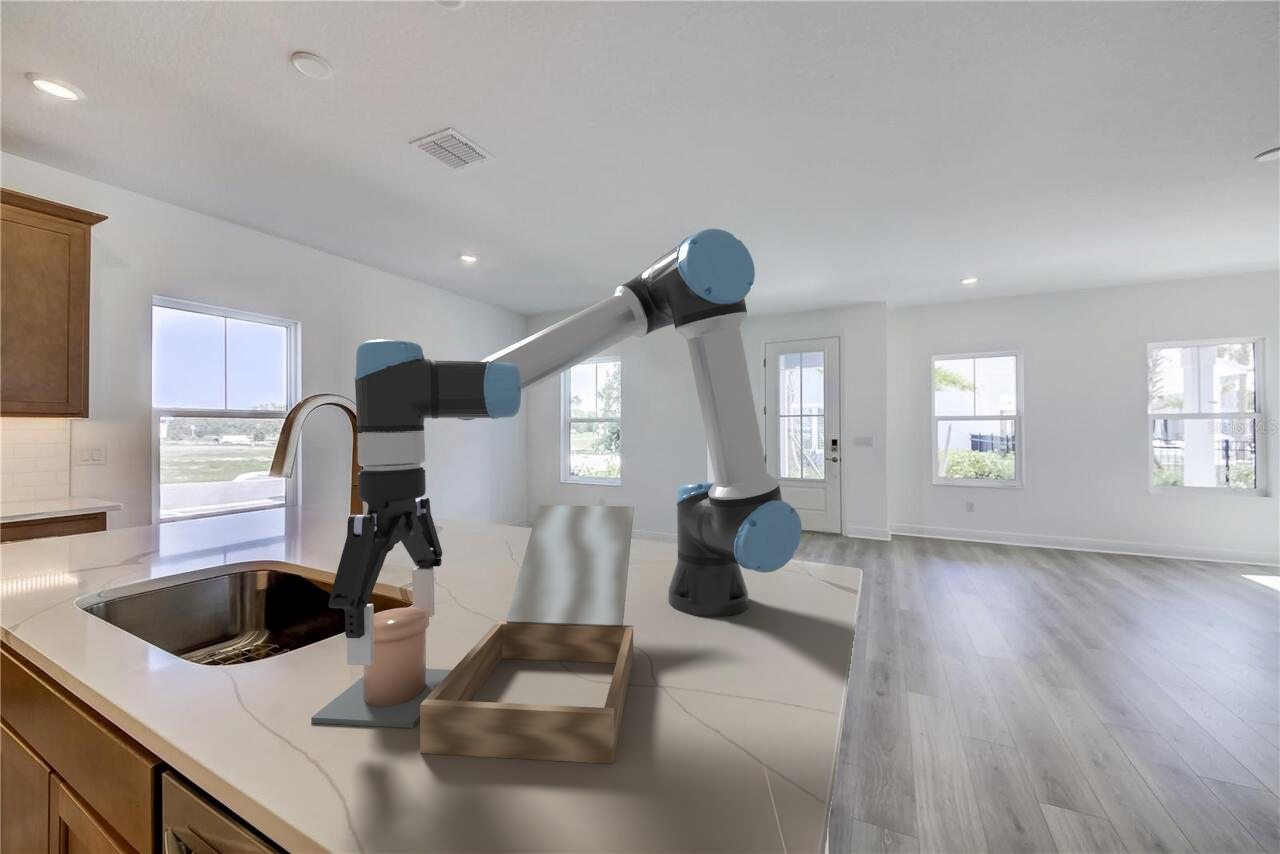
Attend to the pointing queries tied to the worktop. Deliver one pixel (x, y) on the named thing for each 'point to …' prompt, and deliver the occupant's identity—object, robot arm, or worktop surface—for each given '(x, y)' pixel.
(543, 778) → the worktop surface
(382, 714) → the mat
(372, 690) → the pot
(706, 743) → the worktop surface
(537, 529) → the cold frame
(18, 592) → the worktop surface
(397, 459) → the robot arm
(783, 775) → the worktop surface
